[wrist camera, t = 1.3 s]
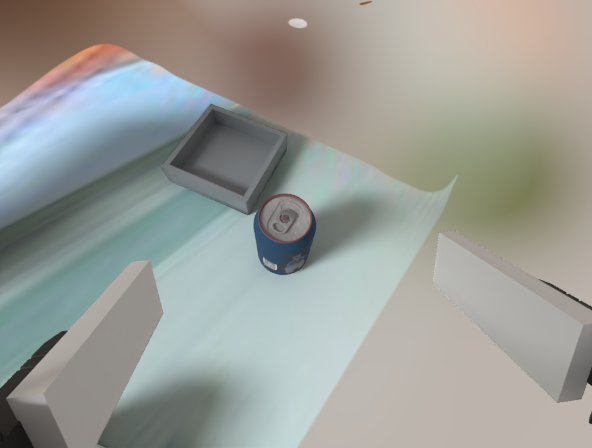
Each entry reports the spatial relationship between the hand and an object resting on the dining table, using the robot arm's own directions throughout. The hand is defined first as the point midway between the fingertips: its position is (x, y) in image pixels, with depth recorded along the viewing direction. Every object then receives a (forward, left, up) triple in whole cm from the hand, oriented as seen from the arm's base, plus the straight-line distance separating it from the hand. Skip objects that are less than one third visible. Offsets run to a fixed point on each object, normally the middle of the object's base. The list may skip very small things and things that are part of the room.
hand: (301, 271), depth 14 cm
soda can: (-4, +9, -27) cm, 29 cm away
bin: (-18, +19, -27) cm, 38 cm away
